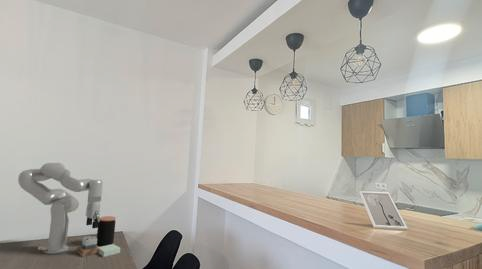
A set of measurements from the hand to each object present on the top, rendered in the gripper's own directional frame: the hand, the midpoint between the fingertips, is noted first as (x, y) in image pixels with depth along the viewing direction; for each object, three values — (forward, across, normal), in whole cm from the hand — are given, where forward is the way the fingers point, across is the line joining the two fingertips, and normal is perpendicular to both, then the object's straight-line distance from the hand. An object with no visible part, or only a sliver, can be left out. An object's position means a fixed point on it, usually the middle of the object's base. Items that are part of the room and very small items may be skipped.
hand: (92, 226), depth 162 cm
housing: (+13, -1, 0) cm, 13 cm away
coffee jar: (+16, -9, +12) cm, 22 cm away
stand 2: (+16, +7, +8) cm, 20 cm away
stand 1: (+16, -1, 0) cm, 16 cm away
